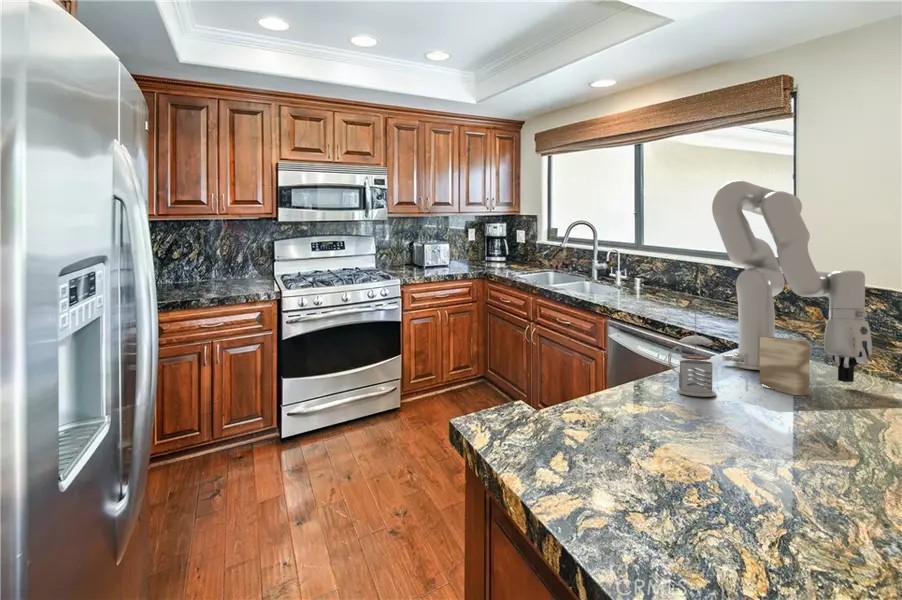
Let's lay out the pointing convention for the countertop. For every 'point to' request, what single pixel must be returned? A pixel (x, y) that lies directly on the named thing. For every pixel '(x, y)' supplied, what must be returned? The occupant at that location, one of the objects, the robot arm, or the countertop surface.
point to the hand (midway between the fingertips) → (845, 381)
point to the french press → (688, 385)
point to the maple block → (785, 364)
